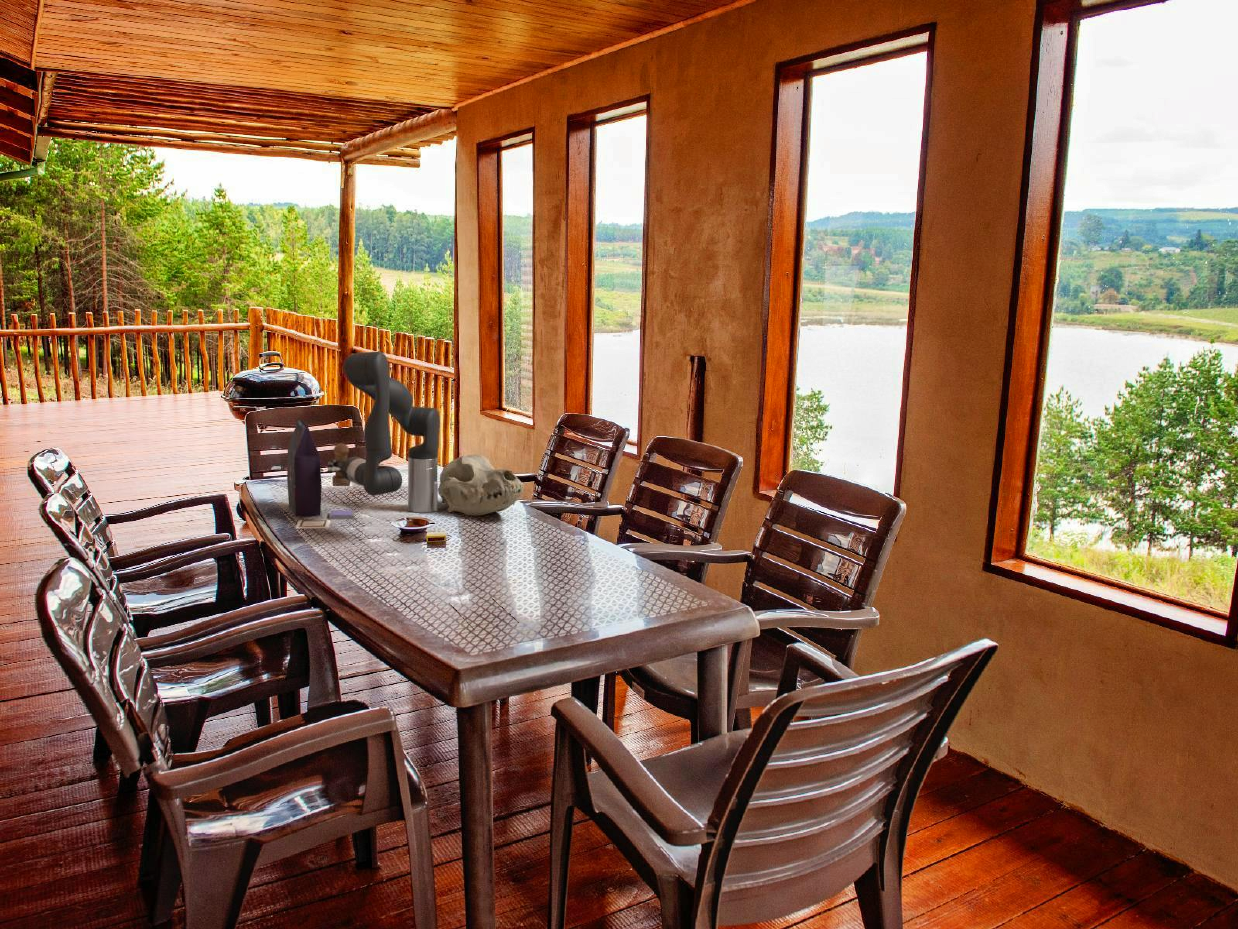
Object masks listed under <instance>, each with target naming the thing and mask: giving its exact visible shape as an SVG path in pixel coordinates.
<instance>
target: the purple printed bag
mask: <svg viewBox="0 0 1238 929" xmlns="http://www.w3.org/2000/svg"><path fill="white" fill-rule="evenodd" d="M286 463H287V464H286V465H287V466H286V468H287V469H286V471H287V472H286V480H287V496H288V498H287V499H288V507H289V509H290V511H291V512H292V514H293V515H294V517H295V518H299V517H302V518H303V517H314V516H317V517H318V516H321V515H322V512H321V510H322V485H323V484H322V472H321V471H322V470H321V458H320V453H319V451H318V448H317V446H316V443H315V441H314V438H313V436H312V433H311V431H310V428H309V426H308V425H307V424H306V423H305V422H304V421H303V419H300V420H299V419H297V422H296V424H295V427H294V430H293V433H292V436H291V439H290V442H289V444H288V446H287V462H286Z"/></svg>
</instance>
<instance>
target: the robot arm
mask: <svg viewBox="0 0 1238 929" xmlns="http://www.w3.org/2000/svg"><path fill="white" fill-rule="evenodd" d="M343 371H344V376H345V377H346V379H347V381H348V382H349V384H351V385H352V386H353V387H354V388H356V389H358V390H359V391H361V392H362V393H365V394H366V395H367V396H368V397H370V398H371V399H372V401H373V400H374V403H373V405H372V408H371V410H370V412H369V415H368V417H367V418H366V422H365V424H364V427H363V428H364V430H363V438H364V446H365V459H364V458H361V457H359V456H351V457H349V458H348V459H347V460H346V461H342V460H339V461H336V460H335V459H329V461H328V462H327V473H328V474H332V473H334V472H335V470H337V472H340V473H342V474H343V476H344V477H345V478H346V479H347V480H349V481H351V482H350V483H353V484H356V485H358V486H362V487H363V489H364V491H365V492H366V493H367V494H368V495H370V496H379V495H384V494H388V493H394V492H397V491H398V490H400V489H401V487H402V484H403V477H402V474H401V472H400V471H399V470H398V469H397V468H396V467H394V466H392V465H391V466H389V465H380V464H381V463H382V462H385V461H387V460H389V459H391V458H392V456H393V450H392V449H393V448H392V441H391V440H392V439H391V432H390V431H391V430H390V416H391V417H392V418H394V420H395V421H396V422H397V423H398V425H399V426H400V427H401V429H403V431H404V432H405V433H407V434H408V435H409V436H410V435H411V436H415V437H424V440H423V442H421V443H420V444H418V445H414V446H411V447H410V448H408V454H407V463H408V464H407V510H408V511H410V512H412V513H413V512H414V513H431V512H438V502H439V500H438V495H439V492H438V488H439V485H438V457H439V456H438V455H439V454H438V453H439V448H440V446H439V444H440V427H441V425H440V424H441V422H440V421H441V417H440V413H439V410H438V409H437V408H435V407H426V406H425V407H424V406H413V401H414V400H413V394H412V393H411V391H410V389H409V388H408V387H406V386H405V384H403V383H402V382H401V381H400V380H398V379H397V378H392V377H390V366H389V361H388V357H387V356H386V354H384V352H383V351H366V352H356V353H352V354H350V355H348V356H347V357H346V358H345V360H344V362H343Z"/></svg>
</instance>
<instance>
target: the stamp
mask: <svg viewBox="0 0 1238 929" xmlns="http://www.w3.org/2000/svg"><path fill="white" fill-rule="evenodd" d="M349 453H350V450H349V446H348V445H347V444H346V443H337V444H336V445H335V446H334V447H333V454H334V456H335V457H334V458H335V459H334V460H336V461H339V460H342V461H346V460H347V459H348V455H349ZM334 472H335V475H333V477H332V478H331V480H332V482H331V483H332V484H331V485H332V487H350V484H351V483H352V482H351V481H349V480H347V479H346V478H345V477H344V476H343V474H342V473H340V472H337V470H334Z"/></svg>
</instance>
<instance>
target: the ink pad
mask: <svg viewBox="0 0 1238 929" xmlns="http://www.w3.org/2000/svg"><path fill="white" fill-rule="evenodd" d="M328 516H329V517H328V518H329V519H328V520H353V519H354V517H355V510H353V509H349V510H348V509H347V510H345V509H343V510H341V509H340V510H339V509H337V510H334V509H333V510H330V513H329V515H328Z"/></svg>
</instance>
